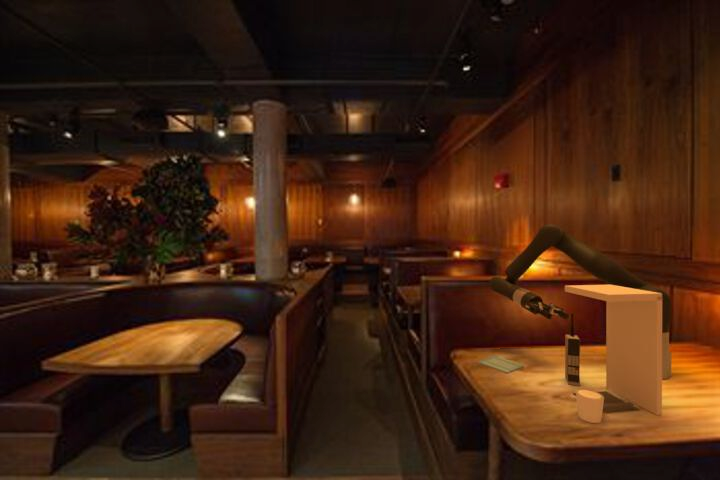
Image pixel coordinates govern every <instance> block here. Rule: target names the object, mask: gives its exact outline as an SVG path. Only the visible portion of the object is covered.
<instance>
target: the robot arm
mask: <svg viewBox="0 0 720 480" xmlns="http://www.w3.org/2000/svg"><path fill="white" fill-rule="evenodd" d="M551 247H552V248H555V249H557V250H558V251H560V252H562V253H563V254H565V255H566V256H568V258H570V259H571V260H572V261H573V262H574V263H575V264H577V265H578V266H579V267H580V269H581V268H582V269H583V270H584V271H586V272H587V273H588V274H590V275H591V276H593V277H594V278H596V279H598V280H600V281H603V282H604V283H606V284H607V285H616V286H622V287H628V288H633V289H639V290H645V291H651V292H657V293H662V380H668V379H669V378H672V351H671V350H670V326H671V323H672V300H671V297H670V296H669V294H668V293H667V292H665V291H664V290H663V289H661V288H659V287H657V286H655V285H653V284H650V283H648V282H647V281H645V280H642V279H641V278H639V277H637V276H635V275H633V274H632V273H631V272H630V271H628V270H627V269H626V268H625V267H624V266H622V265H621V264H619V263H618V262H617V261H615V260H614V259H612V258H611V257H610V256H608V255H606V254H604V253H602V252H601V251H599V250H597V249H596V248H593V247H591V246H589V245H587V244H586V243H583V242H581V241H579V240H578V239H576V238H575V237H573V236H571V235H570V234H569V233H568V232H566V231H565V230H564V229H562V228H561V227H560V226H559V225H557V224H554V223H547V224H544V225H542V226H540V227H539V229H538V231H537V233H536V235H535V236H534V238H533V239H532V241H530V243H529V244H528V246H527V247H525V249H523V251H522V252H521V253H520V254H518V256H516V257H515V259H513V261H511V263H510V264H509V265H507V266H506V268H505V270H504V274H505V275H506V277H505V279H504V278H502V277H500V276H493V277H492V278H490V280H489V283H488V285H489V288H490V289H491V291H493V292H494V293H498V294H499V295H501V296H503V297H505V298H507V299H508V300H510V301H512V302H513V303H515V304H516V305H518V306H519V307H521V308H523V309H525V310H526V311H527V312H529V313H531V314H534V316H535V315H539V316H543V317H544V318H546V319H547V320H552V318H553V315H556V316H559V317H560V318H562V319H563V320H568V319H569V317H570V314H569V313H568V312H567V313H566V312H565V311H564V308H563V307H560V306H557V305H555V304H553V303H550V302H549V303H547V302H545V301H543V298H542V297H541V296H540V295H538V294H537V293H534V292H532V291H530V290H528V289H525V288H523V287H521V286H519V285H516V284H517V283H518V281H519V279H520V278H521V277H522V276H524V274H525V273H526V272H527V271H529V269H530V267H532V265H533V264H534V263H535V261H536V260H537V259H538V258H539V257H541V255H542V254H544V252H546V251H547V250H549V249H550V248H551Z"/></svg>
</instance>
